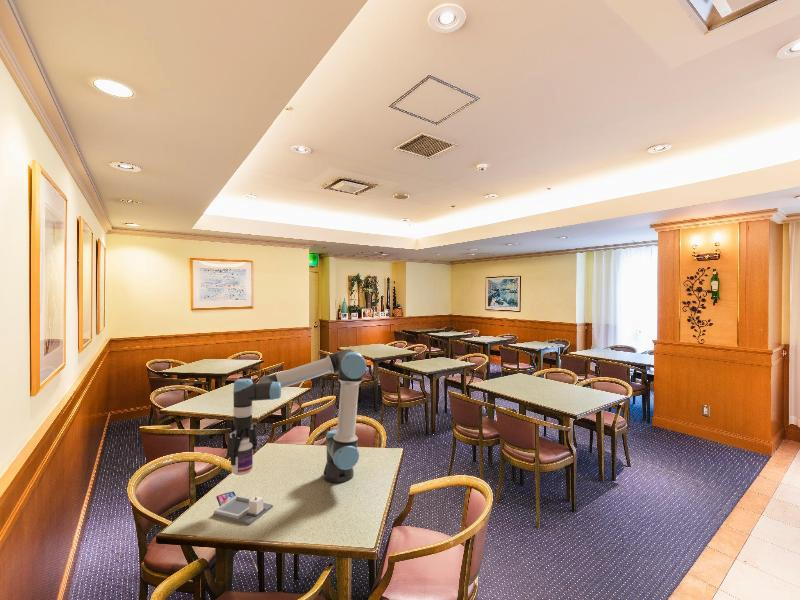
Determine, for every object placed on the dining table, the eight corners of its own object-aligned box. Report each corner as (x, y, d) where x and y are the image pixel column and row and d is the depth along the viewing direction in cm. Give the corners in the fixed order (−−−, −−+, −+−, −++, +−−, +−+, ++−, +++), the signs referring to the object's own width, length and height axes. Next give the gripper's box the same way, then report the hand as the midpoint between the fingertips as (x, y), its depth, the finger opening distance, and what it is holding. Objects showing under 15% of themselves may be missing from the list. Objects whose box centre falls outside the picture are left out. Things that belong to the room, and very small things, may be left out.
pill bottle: (256, 469, 169) (256, 436, 169) (243, 477, 161) (243, 443, 161) (241, 466, 172) (241, 434, 172) (227, 474, 164) (228, 440, 164)
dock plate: (272, 507, 167) (272, 490, 167) (249, 525, 154) (249, 507, 154) (238, 499, 173) (237, 483, 173) (213, 516, 160) (212, 499, 160)
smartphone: (221, 510, 164) (215, 495, 177) (221, 511, 164) (215, 497, 177) (240, 504, 169) (233, 490, 181) (240, 506, 169) (233, 492, 181)
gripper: (253, 408, 178) (252, 457, 177) (216, 421, 158) (216, 476, 158) (266, 409, 175) (266, 460, 175) (230, 423, 155) (230, 479, 155)
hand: (242, 467), depth 166 cm, fingers closed on pill bottle, 8 cm apart
